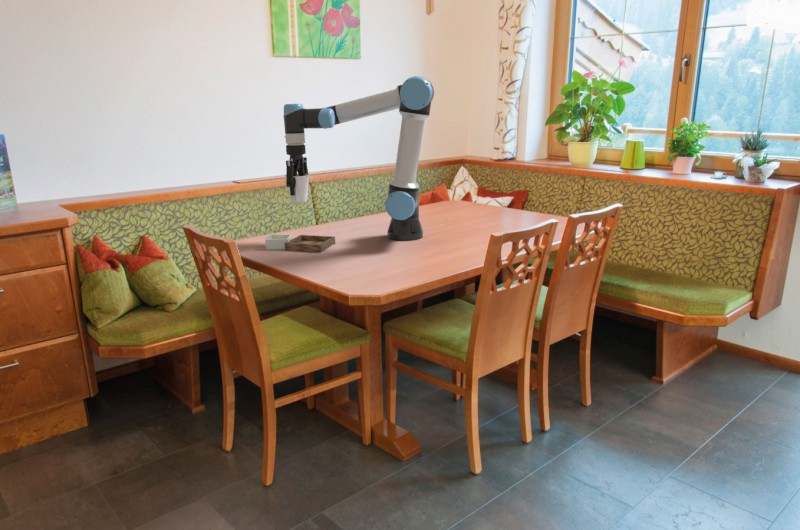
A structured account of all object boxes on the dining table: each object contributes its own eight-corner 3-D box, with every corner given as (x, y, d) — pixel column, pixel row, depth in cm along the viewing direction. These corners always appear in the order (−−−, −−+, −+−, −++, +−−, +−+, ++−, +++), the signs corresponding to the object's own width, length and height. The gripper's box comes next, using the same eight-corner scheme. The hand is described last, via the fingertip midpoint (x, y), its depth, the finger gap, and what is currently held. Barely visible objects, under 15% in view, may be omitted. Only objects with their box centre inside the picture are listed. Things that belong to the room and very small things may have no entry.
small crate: (293, 243, 245) (292, 234, 244) (289, 249, 236) (288, 239, 235) (270, 244, 245) (270, 234, 244) (266, 249, 236) (265, 239, 235)
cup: (306, 204, 238) (304, 176, 235) (282, 204, 240) (280, 176, 237) (315, 200, 247) (313, 173, 244) (292, 200, 250) (290, 173, 247)
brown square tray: (335, 243, 245) (334, 236, 245) (321, 252, 232) (320, 245, 231) (301, 241, 249) (300, 234, 249) (285, 250, 235) (284, 243, 235)
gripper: (298, 142, 248) (302, 197, 254) (273, 146, 229) (278, 205, 235) (315, 142, 246) (318, 197, 252) (291, 146, 227) (295, 206, 233)
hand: (299, 201), depth 244 cm, fingers closed on cup, 8 cm apart
